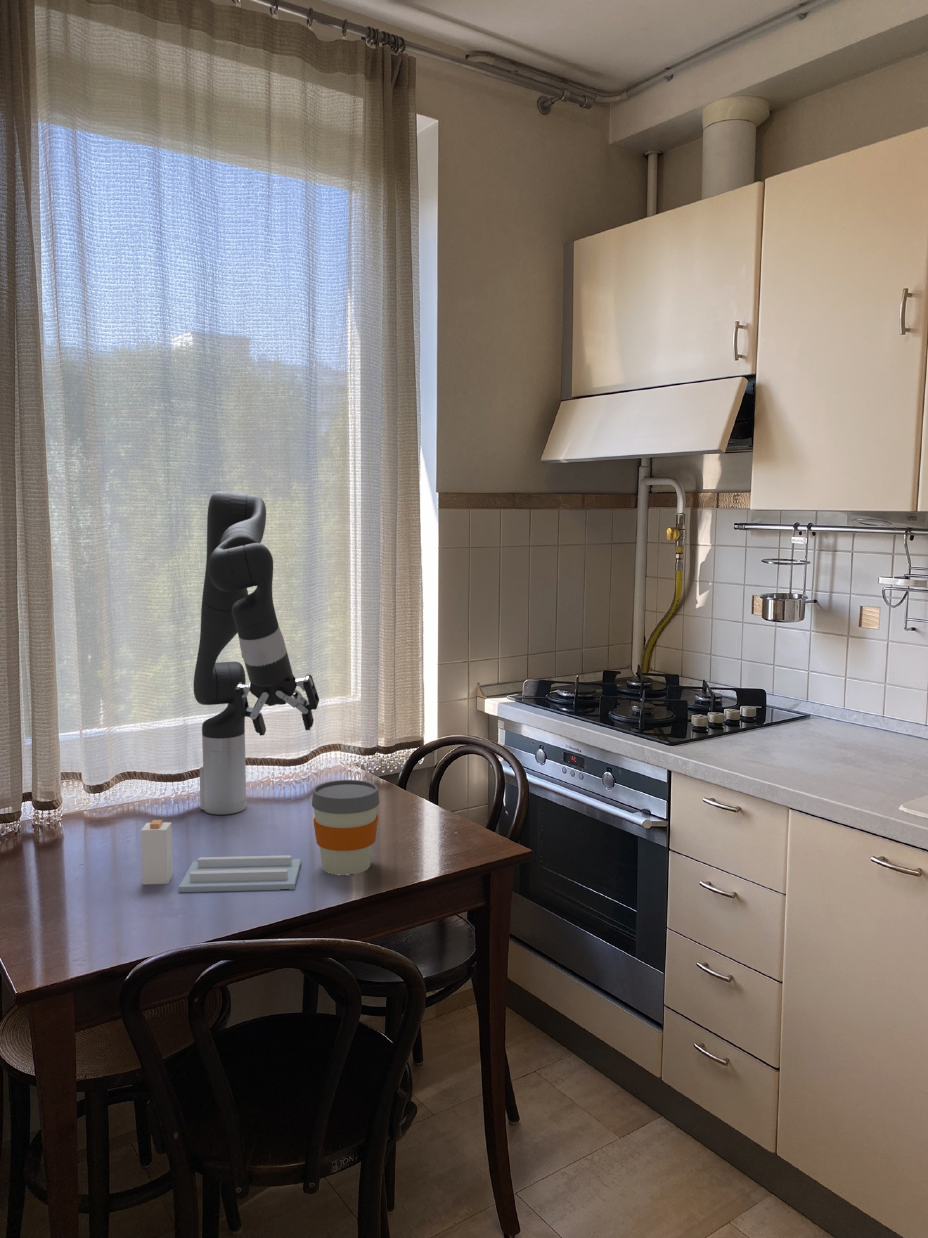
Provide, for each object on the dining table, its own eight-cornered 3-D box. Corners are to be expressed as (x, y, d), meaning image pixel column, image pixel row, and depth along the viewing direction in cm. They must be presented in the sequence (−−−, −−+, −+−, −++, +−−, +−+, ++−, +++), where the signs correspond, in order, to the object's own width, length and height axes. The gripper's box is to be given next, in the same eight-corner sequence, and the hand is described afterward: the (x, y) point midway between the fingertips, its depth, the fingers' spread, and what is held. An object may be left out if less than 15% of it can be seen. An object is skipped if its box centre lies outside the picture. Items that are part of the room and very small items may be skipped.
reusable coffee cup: (391, 870, 171) (391, 792, 170) (329, 884, 165) (328, 803, 163) (361, 849, 182) (361, 775, 180) (302, 862, 175) (301, 785, 174)
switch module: (142, 884, 164) (140, 825, 163) (148, 875, 168) (146, 818, 167) (167, 883, 165) (166, 825, 163) (173, 875, 168) (171, 818, 167)
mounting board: (178, 892, 161) (178, 878, 161) (193, 866, 173) (192, 853, 172) (294, 889, 162) (294, 875, 162) (300, 863, 174) (300, 851, 174)
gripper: (308, 638, 163) (327, 715, 170) (230, 647, 164) (252, 723, 171) (300, 659, 156) (320, 738, 164) (219, 668, 157) (243, 746, 165)
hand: (285, 730), depth 167 cm, fingers open, 8 cm apart
